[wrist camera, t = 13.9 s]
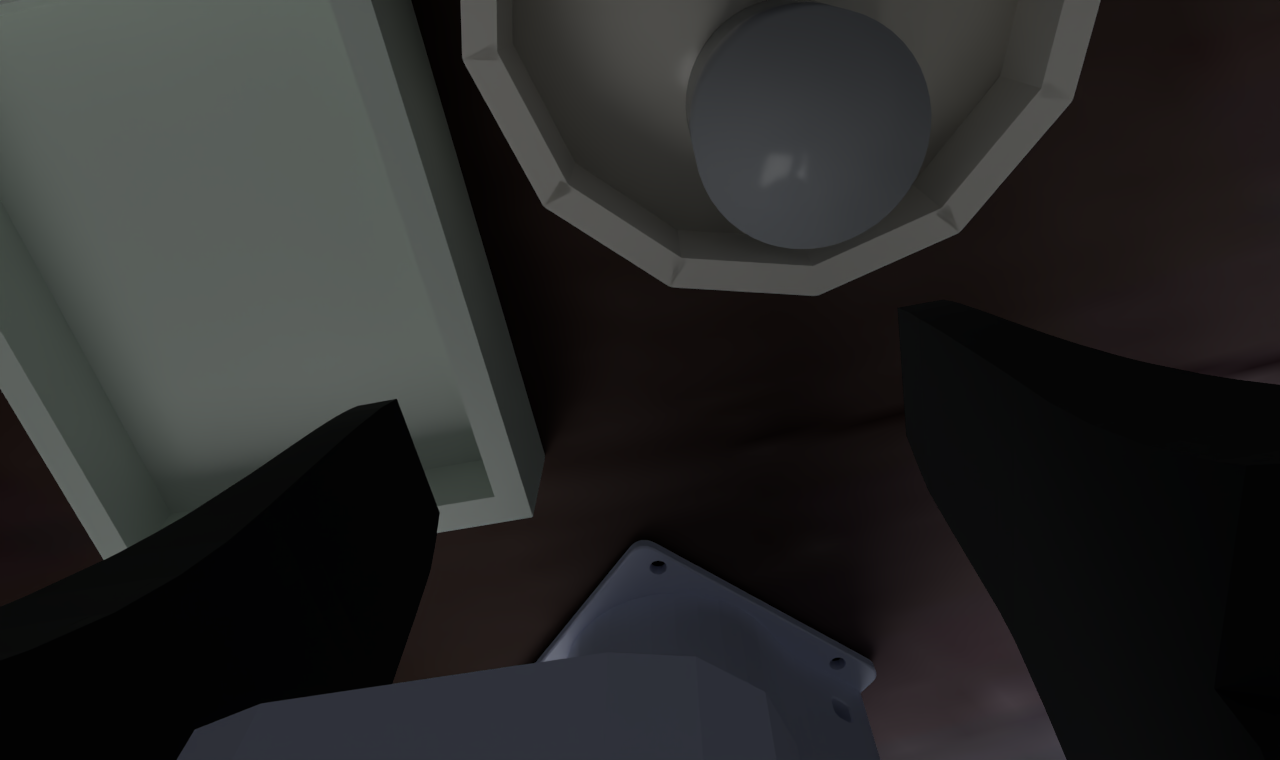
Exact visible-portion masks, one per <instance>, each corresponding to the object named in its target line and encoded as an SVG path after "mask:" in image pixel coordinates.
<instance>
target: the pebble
mask: <svg viewBox="0 0 1280 760" xmlns="http://www.w3.org/2000/svg"><path fill="white" fill-rule="evenodd" d="M686 118H687V124H688V129H689V133H690V137H691V142H692V146H693V150H694V155H695V159H696V163H697V167H698V172H699V175H700V177H701V180H702V183H703V186H704V188H705V190H706V191H707V193H708V195H709V197H710V199H711V200H712V202H713V203H714V205H715V206H716V207H717V209H718V210H719V211H720V212H721V214H722V215H723V216H724V217H725V218H726V219H727V220H728V221H729V222H730V223H732V224H733V225H734V226H735V227H737V228H738V229H739V230H740V231H742V232H744V233H745V234H747V235H749V236H750V237H752V238H754V239H757V240H759V241H761V242H764V243H767V244H770V245H774V246H777V247H783V248H790V249H813V248H822V247H827V246H831V245H835V244H838V243H841V242H844V241H846V240H849V239H852V238H854V237H856V236H858V235H859V234H861V233H863V232H865V231H867V230H868V229H870V228H871V227H873V226H874V225H876V224H877V223H878V222H880V221H881V220H882V219H883V218H884V217H886V216H887V215H888V214H889V213H890V212H891V211H892V210H893V209H894V208H895V207H896V206H897V205H898V203H899V202H900V201H901V200H902V199H903V197H904V196H905V195H906V193H907V192H908V190H909V189H910V187H911V186H912V184H913V182H914V180H915V179H916V177H917V175H918V173H919V171H920V168H921V166H922V164H923V161H924V158H925V155H926V151H927V148H928V144H929V138H930V132H931V104H930V96H929V92H928V88H927V83H926V80H925V78H924V75H923V73H922V70H921V68H920V66H919V64H918V62H917V61H916V59H915V57H914V55H913V54H912V52H911V51H910V50H909V49H908V47H907V46H906V45H905V43H904V42H903V41H902V40H901V39H900V38H899V37H898V36H897V35H896V34H895V33H893V32H892V31H891V30H890V29H888V28H887V27H885V26H884V25H883V24H881V23H880V22H878V21H876V20H874V19H872V18H870V17H868V16H866V15H863V14H860V13H857V12H854V11H851V10H847V9H844V8H840V7H836V6H832V5H828V4H824V3H821V2H817V1H813V0H766V1H762V2H758V3H756V4H753V5H751V6H749V7H746V8H744V9H743V10H741V11H739V12H738V13H736V14H734V15H733V16H731V17H730V18H729V19H728V20H726V21H725V22H724V23H722V24H721V25H720V26H719V27H718V28H717V29H716V30H715V32H714V33H713V34H712V35H711V36H710V37H709V39H708V40H707V41H706V43H705V44H704V46H703V47H702V49H701V51H700V52H699V54H698V56H697V58H696V60H695V63H694V65H693V67H692V70H691V73H690V77H689V80H688V86H687V92H686Z"/></svg>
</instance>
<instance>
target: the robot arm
mask: <svg viewBox="0 0 1280 760" xmlns="http://www.w3.org/2000/svg"><path fill="white" fill-rule="evenodd" d="M898 320H899V334H900V349H901V364H902V378H903V393H904V407H905V422H906V435H907V438H908V441H909V443H910V446H911V448H912V451H913V453H914V456H915V459H916V461H917V464H918V466H919V469H920V471H921V474H922V476H923V478H924V481H925V483H926V486H927V488H928V490H929V492H930V494H931V496H932V497H933V499H934V501H935V503H936V505H937V506H938V508H939V510H940V511H941V513H942V515H943V517H944V518H945V520H946V522H947V523H948V525H949V527H950V529H951V530H952V532H953V534H954V535H955V537H956V539H957V540H958V542H959V544H960V545H961V547H962V549H963V551H964V552H965V554H966V556H967V557H968V559H969V561H970V562H971V564H972V566H973V567H974V569H975V571H976V572H977V574H978V576H979V577H980V579H981V581H982V583H983V584H984V586H985V588H986V589H987V591H988V593H989V594H990V596H991V598H992V599H993V601H994V603H995V604H996V606H997V608H998V610H999V611H1000V613H1001V615H1002V617H1003V619H1004V621H1005V623H1006V625H1007V626H1008V628H1009V630H1010V632H1011V634H1012V636H1013V638H1014V640H1015V642H1016V644H1017V646H1018V649H1019V651H1020V653H1021V655H1022V658H1023V660H1024V662H1025V664H1026V666H1027V669H1028V671H1029V673H1030V675H1031V678H1032V680H1033V682H1034V684H1035V687H1036V689H1037V691H1038V693H1039V696H1040V698H1041V700H1042V702H1043V705H1044V707H1045V709H1046V712H1047V714H1048V716H1049V719H1050V721H1051V724H1052V726H1053V728H1054V731H1055V733H1056V735H1057V738H1058V740H1059V742H1060V745H1061V747H1062V750H1063V752H1064V754H1065V757H1066V759H1067V760H1280V385H1276V384H1268V383H1260V382H1251V381H1243V380H1236V379H1229V378H1223V377H1217V376H1211V375H1205V374H1199V373H1194V372H1189V371H1184V370H1179V369H1175V368H1170V367H1165V366H1160V365H1155V364H1150V363H1146V362H1141V361H1137V360H1133V359H1129V358H1125V357H1121V356H1118V355H1114V354H1111V353H1107V352H1104V351H1100V350H1097V349H1093V348H1090V347H1086V346H1083V345H1079V344H1076V343H1073V342H1070V341H1067V340H1063V339H1060V338H1057V337H1054V336H1051V335H1048V334H1045V333H1042V332H1039V331H1037V330H1034V329H1031V328H1028V327H1025V326H1022V325H1020V324H1017V323H1014V322H1011V321H1008V320H1006V319H1003V318H1000V317H997V316H995V315H992V314H989V313H986V312H984V311H981V310H978V309H975V308H972V307H969V306H966V305H963V304H960V303H956V302H952V301H947V300H939V301H934V302H928V303H922V304H917V305H911V306H906V307H900V308H898ZM439 515H440V512H439V509H438V507H437V504H436V501H435V499H434V496H433V493H432V491H431V488H430V485H429V483H428V480H427V477H426V475H425V472H424V470H423V467H422V464H421V462H420V459H419V456H418V454H417V451H416V448H415V446H414V443H413V440H412V438H411V435H410V432H409V430H408V427H407V424H406V422H405V419H404V416H403V414H402V411H401V408H400V406H399V403H398V400H397V399H393V400H387V401H382V402H376V403H370V404H365V405H359V406H356V407H354V408H351V409H349V410H347V411H345V412H343V413H341V414H340V415H338V416H336V417H334V418H333V419H331V420H329V421H328V422H326V423H325V424H323V425H321V426H320V427H318V428H317V429H315V430H314V431H312V432H311V433H309V434H308V435H306V436H305V437H303V438H302V439H300V440H299V441H298V442H296V443H295V444H293V445H292V446H290V447H289V448H287V449H286V450H284V451H283V452H281V453H280V454H279V455H277V456H276V457H274V458H273V459H271V460H270V461H268V462H267V463H265V464H264V465H263V466H261V467H260V468H258V469H257V470H255V471H254V472H252V473H251V474H249V475H248V476H246V477H245V478H243V479H242V480H240V481H238V482H237V483H235V484H234V485H232V486H231V487H229V488H228V489H226V490H224V491H223V492H221V493H220V494H218V495H217V496H215V497H214V498H212V499H210V500H209V501H207V502H206V503H204V504H203V505H201V506H200V507H198V508H197V509H195V510H193V511H192V512H190V513H189V514H187V515H185V516H184V517H182V518H180V519H179V520H177V521H175V522H173V523H172V524H170V525H168V526H166V527H165V528H163V529H161V530H159V531H158V532H156V533H154V534H152V535H150V536H149V537H147V538H145V539H143V540H141V541H139V542H137V543H136V544H134V545H132V546H130V547H128V548H126V549H124V550H123V551H121V552H119V553H117V554H115V555H113V556H111V557H109V558H107V559H105V560H103V561H101V562H99V563H97V564H95V565H92V566H90V567H88V568H86V569H84V570H82V571H79V572H77V573H75V574H73V575H71V576H69V577H67V578H64V579H62V580H60V581H58V582H56V583H54V584H51V585H49V586H47V587H45V588H43V589H41V590H38V591H36V592H34V593H32V594H30V595H28V596H25V597H23V598H21V599H18V600H16V601H14V602H11V603H9V604H6V605H4V606H1V607H0V760H880V757H879V754H878V751H877V747H876V744H875V740H874V737H873V734H872V730H871V727H870V724H869V720H868V717H867V713H866V710H865V707H864V703H863V700H862V697H861V692H862V691H863V690H864V689H865V688H866V687H868V686H869V685H870V684H871V683H872V682H873V681H874V679H875V678H876V671H875V667H874V665H873V662H872V661H870V660H869V659H868V658H866V657H864V656H862V655H860V654H859V653H857V652H855V651H853V650H851V649H849V648H848V647H846V646H844V645H842V644H840V643H838V642H837V641H835V640H833V639H831V638H829V637H827V636H825V635H824V634H822V633H820V632H818V631H816V630H814V629H813V628H811V627H809V626H807V625H805V624H803V623H802V622H800V621H798V620H796V619H794V618H792V617H791V616H789V615H787V614H785V613H783V612H781V611H780V610H778V609H776V608H774V607H772V606H770V605H769V604H767V603H765V602H763V601H761V600H759V599H757V598H756V597H754V596H752V595H750V594H748V593H746V592H745V591H743V590H741V589H739V588H737V587H735V586H734V585H732V584H730V583H728V582H726V581H724V580H723V579H721V578H719V577H717V576H715V575H713V574H712V573H710V572H708V571H706V570H704V569H702V568H701V567H699V566H697V565H695V564H693V563H691V562H689V561H688V560H686V559H684V558H682V557H680V556H678V555H677V554H675V553H673V552H671V551H669V550H667V549H666V548H664V547H662V546H660V545H658V544H656V543H655V542H652V541H649V540H640V541H637V542H635V543H634V544H632V545H631V546H630V547H629V549H628V550H627V551H626V552H625V554H624V555H623V556H622V557H621V558H620V560H619V561H618V562H617V563H616V565H615V566H614V567H613V568H612V569H611V571H610V572H609V573H608V574H607V576H606V577H605V578H604V579H603V580H602V582H601V583H600V584H599V585H598V587H597V588H596V589H595V590H594V591H593V593H592V594H591V595H590V596H589V598H588V599H587V600H586V601H585V602H584V604H583V605H582V606H581V607H580V609H579V610H578V611H577V612H576V614H575V615H574V616H573V617H572V618H571V620H570V621H569V622H568V623H567V625H566V626H565V627H564V628H563V629H562V631H561V632H560V633H559V634H558V636H557V637H556V638H555V639H554V640H553V642H552V643H551V644H550V645H549V647H548V648H547V649H546V650H545V651H544V653H543V654H542V655H541V656H540V658H539V659H538V660H537V661H536V662H535V663H531V664H525V665H518V666H511V667H504V668H498V669H491V670H484V671H477V672H471V673H464V674H457V675H450V676H444V677H437V678H430V679H423V680H416V681H410V682H403V683H396V684H392V683H393V680H394V677H395V674H396V671H397V668H398V665H399V662H400V659H401V656H402V654H403V651H404V648H405V645H406V642H407V639H408V636H409V633H410V630H411V627H412V624H413V622H414V619H415V616H416V613H417V610H418V607H419V604H420V601H421V598H422V595H423V592H424V589H425V586H426V582H427V579H428V576H429V573H430V569H431V564H432V559H433V553H434V548H435V542H436V536H437V529H438V522H439ZM654 561H662V562H664V563H665V564H664V565H662V566H654V565H652V564H651V563H653V562H654ZM834 658H841V659H839V660H836V661H832V659H834Z"/></svg>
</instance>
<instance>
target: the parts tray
mask: <svg viewBox="0 0 1280 760" xmlns="http://www.w3.org/2000/svg"><path fill="white" fill-rule="evenodd" d="M0 389H1V390H2V392H3V394H4V395H5V397H6V399H7V400H8V402H9V404H10V405H11V407H12V409H13V410H14V412H15V414H16V415H17V417H18V419H19V420H20V422H21V424H22V425H23V427H24V429H25V430H26V432H27V434H28V435H29V437H30V438H31V440H32V442H33V443H34V445H35V447H36V448H37V450H38V452H39V453H40V455H41V457H42V458H43V460H44V462H45V463H46V465H47V467H48V468H49V470H50V472H51V473H52V475H53V477H54V478H55V480H56V482H57V483H58V485H59V487H60V488H61V490H62V491H63V493H64V495H65V496H66V498H67V500H68V501H69V503H70V505H71V506H72V508H73V510H74V511H75V513H76V515H77V516H78V518H79V520H80V521H81V523H82V525H83V526H84V528H85V530H86V531H87V533H88V535H89V536H90V538H91V540H92V541H93V543H94V545H95V546H96V548H97V549H98V551H99V553H100V554H101V556H102V558H103V559H104V560H105V559H107V558H109V557H111V556H113V555H115V554H117V553H119V552H121V551H123V550H124V549H126V548H128V547H130V546H132V545H134V544H136V543H137V542H139V541H141V540H143V539H145V538H147V537H149V536H150V535H152V534H154V533H156V532H158V531H159V530H161V529H163V528H165V527H166V526H168V525H170V524H172V523H173V522H175V521H177V520H179V519H180V518H182V517H184V516H185V515H187V514H189V513H190V512H192V511H193V510H195V509H197V508H198V507H200V506H201V505H203V504H204V503H206V502H207V501H209V500H210V499H212V498H214V497H215V496H217V495H218V494H220V493H221V492H223V491H224V490H226V489H228V488H229V487H231V486H232V485H234V484H235V483H237V482H238V481H240V480H242V479H243V478H245V477H246V476H248V475H249V474H251V473H252V472H254V471H255V470H257V469H258V468H260V467H261V466H263V465H264V464H265V463H267V462H268V461H270V460H271V459H273V458H274V457H276V456H277V455H279V454H280V453H281V452H283V451H284V450H286V449H287V448H289V447H290V446H292V445H293V444H295V443H296V442H298V441H299V440H300V439H302V438H303V437H305V436H306V435H308V434H309V433H311V432H312V431H314V430H315V429H317V428H318V427H320V426H321V425H323V424H325V423H326V422H328V421H329V420H331V419H333V418H334V417H336V416H338V415H340V414H341V413H343V412H345V411H347V410H349V409H351V408H354V407H356V406H359V405H365V404H370V403H376V402H382V401H387V400H393V399H397V400H398V403H399V406H400V408H401V411H402V414H403V416H404V419H405V422H406V424H407V427H408V430H409V432H410V435H411V438H412V440H413V443H414V446H415V448H416V451H417V454H418V456H419V459H420V462H421V464H422V467H423V470H424V472H425V475H426V477H427V480H428V483H429V485H430V488H431V491H432V493H433V496H434V499H435V501H436V504H437V507H438V509H439V512H440V515H439V522H438V529H437V533H439V532H445V531H451V530H457V529H463V528H469V527H475V526H482V525H488V524H494V523H500V522H506V521H512V520H518V519H524V518H530V517H533V514H534V509H535V504H536V499H537V494H538V489H539V484H540V479H541V474H542V469H543V464H544V460H545V454H544V451H543V447H542V444H541V440H540V437H539V434H538V430H537V427H536V423H535V420H534V417H533V413H532V410H531V406H530V403H529V400H528V396H527V393H526V389H525V386H524V383H523V379H522V376H521V372H520V369H519V366H518V362H517V359H516V355H515V352H514V349H513V345H512V342H511V338H510V335H509V332H508V328H507V325H506V321H505V318H504V315H503V311H502V308H501V304H500V301H499V297H498V294H497V291H496V287H495V284H494V280H493V277H492V274H491V270H490V267H489V263H488V260H487V257H486V253H485V250H484V246H483V243H482V240H481V236H480V233H479V229H478V226H477V223H476V219H475V216H474V212H473V209H472V206H471V202H470V199H469V195H468V192H467V189H466V185H465V182H464V178H463V175H462V172H461V168H460V165H459V161H458V158H457V155H456V151H455V148H454V144H453V141H452V138H451V134H450V131H449V127H448V124H447V121H446V117H445V114H444V110H443V107H442V104H441V100H440V97H439V93H438V90H437V87H436V83H435V80H434V76H433V73H432V70H431V66H430V63H429V59H428V56H427V53H426V49H425V46H424V42H423V39H422V36H421V32H420V29H419V25H418V22H417V19H416V15H415V12H414V8H413V5H412V2H411V0H0Z"/></svg>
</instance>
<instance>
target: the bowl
mask: <svg viewBox="0 0 1280 760" xmlns="http://www.w3.org/2000/svg"><path fill="white" fill-rule="evenodd" d="M762 1H766V0H461V34H462V59H464V60H463V62H464V64H465V66H466V67H467V69H468V71H469V73H470V75H471V76H472V78H473V80H474V82H475V84H476V85H477V87H478V89H479V91H480V93H481V94H482V96H483V98H484V100H485V102H486V103H487V105H488V107H489V109H490V111H491V112H492V114H493V116H494V118H495V120H496V121H497V123H498V125H499V127H500V129H501V131H502V132H503V134H504V136H505V138H506V140H507V141H508V143H509V145H510V147H511V149H512V150H513V152H514V154H515V156H516V158H517V159H518V161H519V163H520V165H521V167H522V168H523V170H524V172H525V174H526V176H527V177H528V179H529V181H530V183H531V185H532V187H533V188H534V190H535V192H536V194H537V196H538V197H539V199H540V201H541V203H542V205H543V206H544V205H545V206H544V207H545V208H547V209H548V210H550V211H551V212H553V213H555V214H556V215H558V216H559V217H561V218H562V219H564V220H566V221H567V222H569V223H570V224H572V225H573V226H575V227H577V228H578V229H580V230H581V231H583V232H584V233H586V234H588V235H589V236H591V237H592V238H594V239H595V240H597V241H599V242H600V243H602V244H603V245H605V246H606V247H608V248H610V249H611V250H613V251H614V252H616V253H617V254H619V255H621V256H622V257H624V258H625V259H627V260H628V261H630V262H632V263H633V264H635V265H636V266H638V267H639V268H641V269H643V270H644V271H646V272H647V273H649V274H650V275H652V276H654V277H655V278H657V279H658V280H660V281H661V282H663V283H665V284H666V285H668V286H669V287H670V286H671V287H675V288H692V289H708V290H725V291H741V292H757V293H774V294H790V295H807V296H816V295H817V296H818V295H820V294H823V293H825V292H827V291H829V290H832V289H834V288H836V287H838V286H841V285H843V284H845V283H847V282H850V281H852V280H854V279H856V278H859V277H861V276H863V275H865V274H868V273H870V272H872V271H874V270H877V269H879V268H881V267H883V266H886V265H888V264H890V263H892V262H895V261H897V260H899V259H901V258H904V257H906V256H908V255H910V254H913V253H915V252H917V251H919V250H922V249H924V248H926V247H928V246H931V245H933V244H935V243H937V242H940V241H942V240H944V239H946V238H949V237H951V236H953V235H955V234H958V233H959V232H960V231H961V230H962V229H963V228H964V227H965V226H966V224H967V223H968V222H969V221H970V220H971V219H972V217H973V216H974V215H975V214H976V213H977V212H978V210H979V209H980V208H981V207H982V206H983V205H984V203H985V202H986V201H987V200H988V199H989V198H990V196H991V195H992V194H993V193H994V192H995V191H996V189H997V188H998V187H999V186H1000V185H1001V184H1002V182H1003V181H1004V180H1005V179H1006V178H1007V177H1008V175H1009V174H1010V173H1011V172H1012V171H1013V170H1014V168H1015V167H1016V166H1017V165H1018V164H1019V163H1020V161H1021V160H1022V159H1023V158H1024V157H1025V156H1026V154H1027V153H1028V152H1029V151H1030V150H1031V149H1032V147H1033V146H1034V145H1035V144H1036V143H1037V142H1038V140H1039V139H1040V138H1041V137H1042V136H1043V135H1044V133H1045V132H1046V131H1047V130H1048V129H1049V128H1050V126H1051V125H1052V124H1053V123H1054V122H1055V121H1056V119H1057V118H1058V117H1059V116H1060V115H1061V114H1062V112H1063V111H1064V110H1065V109H1066V108H1067V107H1068V105H1069V104H1070V103H1071V102H1072V100H1073V98H1074V94H1075V90H1076V87H1077V83H1078V80H1079V76H1080V72H1081V69H1082V65H1083V62H1084V58H1085V55H1086V51H1087V47H1088V44H1089V40H1090V37H1091V33H1092V29H1093V26H1094V22H1095V19H1096V15H1097V11H1098V8H1099V4H1100V1H1101V0H813V1H817V2H821V3H824V4H828V5H832V6H836V7H840V8H844V9H847V10H851V11H854V12H857V13H860V14H863V15H866V16H868V17H870V18H872V19H874V20H876V21H878V22H880V23H881V24H883V25H884V26H885V27H887V28H888V29H890V30H891V31H892V32H893V33H895V34H896V35H897V36H898V37H899V38H900V39H901V40H902V41H903V42H904V43H905V45H906V46H907V47H908V49H909V50H910V51H911V52H912V54H913V55H914V57H915V59H916V61H917V62H918V64H919V66H920V68H921V70H922V73H923V75H924V78H925V80H926V83H927V88H928V92H929V96H930V104H931V132H930V138H929V144H928V148H927V151H926V155H925V158H924V161H923V164H922V166H921V168H920V171H919V173H918V175H917V177H916V179H915V180H914V182H913V184H912V186H911V187H910V189H909V190H908V192H907V193H906V195H905V196H904V197H903V199H902V200H901V201H900V202H899V203H898V205H897V206H896V207H895V208H894V209H893V210H892V211H891V212H890V213H889V214H888V215H887V216H886V217H884V218H883V219H882V220H881V221H880V222H878V223H877V224H876V225H874V226H873V227H871V228H870V229H868V230H867V231H865V232H863V233H861V234H859V235H858V236H856V237H854V238H852V239H849V240H846V241H844V242H841V243H838V244H835V245H831V246H827V247H822V248H813V249H790V248H783V247H777V246H774V245H770V244H767V243H764V242H761V241H759V240H757V239H754V238H752V237H750V236H749V235H747V234H745V233H744V232H742V231H740V230H739V229H738V228H737V227H735V226H734V225H733V224H732V223H730V222H729V221H728V220H727V219H726V218H725V217H724V216H723V215H722V214H721V212H720V211H719V210H718V209H717V207H716V206H715V205H714V203H713V202H712V200H711V199H710V197H709V195H708V193H707V191H706V190H705V188H704V186H703V183H702V180H701V177H700V175H699V172H698V167H697V163H696V159H695V155H694V150H693V146H692V142H691V137H690V133H689V129H688V124H687V118H686V92H687V86H688V80H689V77H690V73H691V70H692V67H693V65H694V63H695V60H696V58H697V56H698V54H699V52H700V51H701V49H702V47H703V46H704V44H705V43H706V41H707V40H708V39H709V37H710V36H711V35H712V34H713V33H714V32H715V30H716V29H717V28H718V27H719V26H720V25H721V24H722V23H724V22H725V21H726V20H728V19H729V18H730V17H731V16H733V15H734V14H736V13H738V12H739V11H741V10H743V9H744V8H746V7H749V6H751V5H753V4H756V3H758V2H762ZM958 231H959V232H958Z"/></svg>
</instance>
